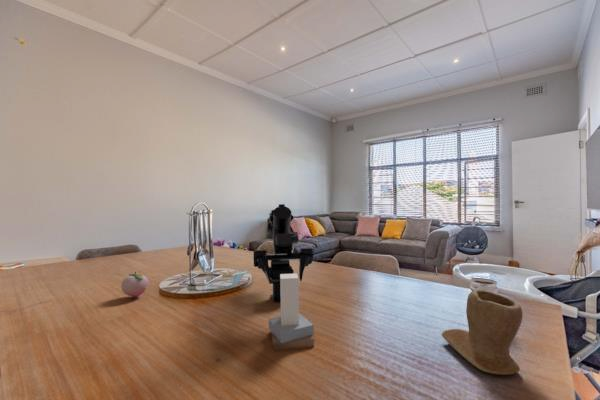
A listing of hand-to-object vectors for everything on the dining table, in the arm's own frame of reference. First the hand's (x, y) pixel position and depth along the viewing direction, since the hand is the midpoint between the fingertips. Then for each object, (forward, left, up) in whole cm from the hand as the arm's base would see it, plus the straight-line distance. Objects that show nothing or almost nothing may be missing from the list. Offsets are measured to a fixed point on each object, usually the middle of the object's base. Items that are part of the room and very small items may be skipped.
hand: (285, 281), depth 81 cm
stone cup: (+33, +36, -13) cm, 51 cm away
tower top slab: (+9, -1, -11) cm, 14 cm away
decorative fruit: (-44, -48, -13) cm, 66 cm away
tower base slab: (+9, -1, -13) cm, 16 cm away
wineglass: (+20, +54, -13) cm, 59 cm away
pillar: (+8, -1, -8) cm, 12 cm away
